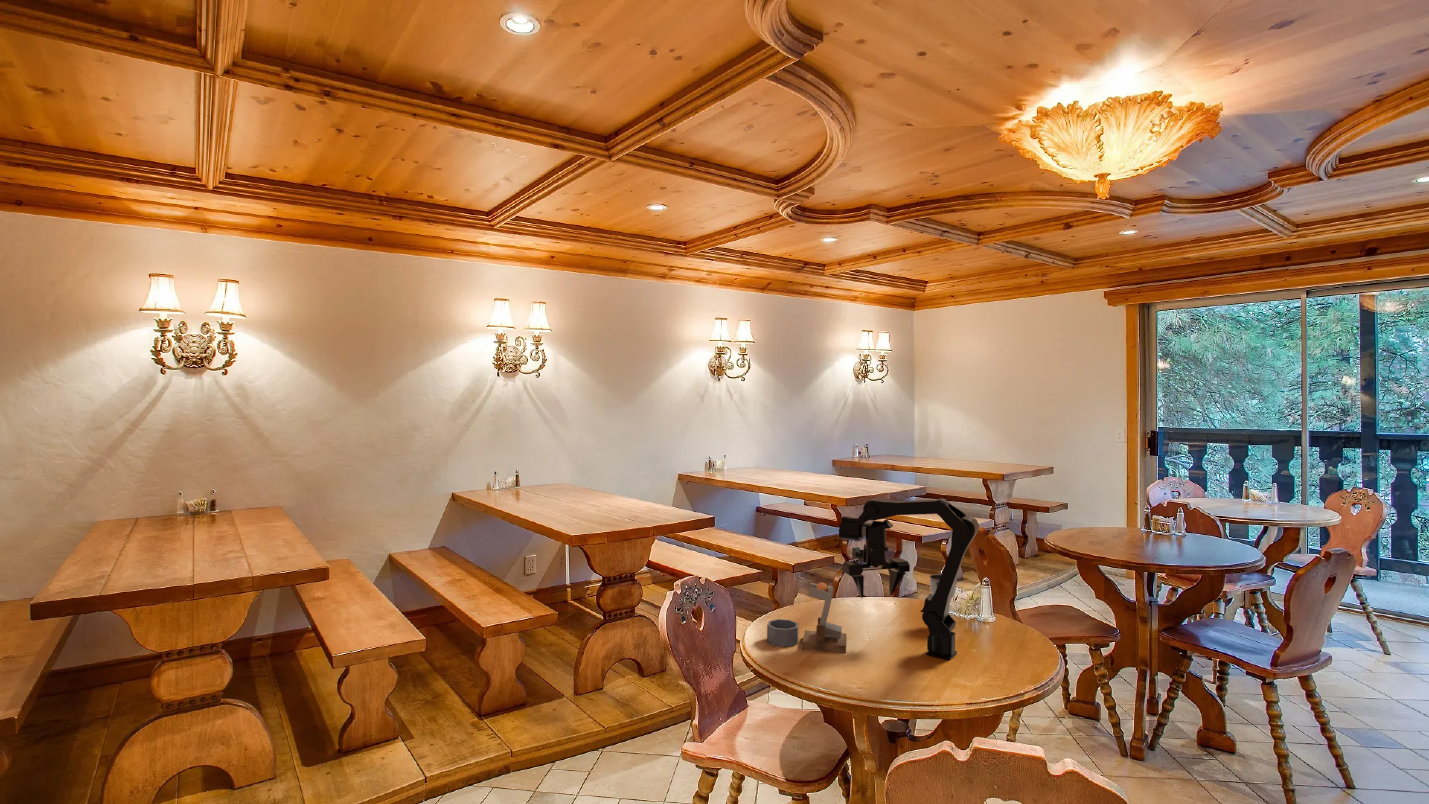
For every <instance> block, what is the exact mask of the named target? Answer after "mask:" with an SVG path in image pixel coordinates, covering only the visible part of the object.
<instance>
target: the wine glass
mask: <svg viewBox="0 0 1429 804" xmlns="http://www.w3.org/2000/svg"><path fill="white" fill-rule="evenodd" d="M941 575H942V573H934V574H933V573H932V574H931V575H929V589H930V593H931V594H932V595H934V594H935V592H936V589H937V586H938V583H939V580H940V577H941ZM957 581H958V578H956V580H955V583H954V586H953V589H952V592H951V594H950V601H952V600H953V598H954V597H955V595H956V591H957V586H958V585H957Z"/></svg>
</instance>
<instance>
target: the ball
mask: <svg viewBox="0 0 1429 804" xmlns="http://www.w3.org/2000/svg"><path fill="white" fill-rule="evenodd" d="M816 589H819V590H823V591H826V592H827V590H828V585H827V584H826V583H825V582H819V583H817V588H816Z"/></svg>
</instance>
